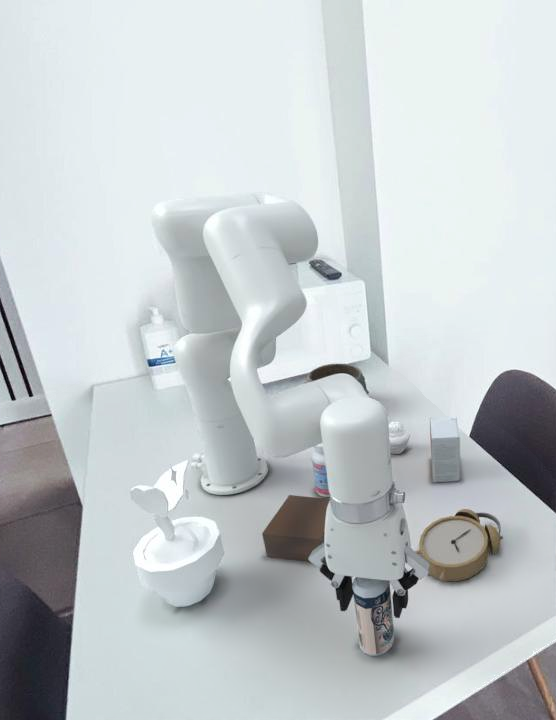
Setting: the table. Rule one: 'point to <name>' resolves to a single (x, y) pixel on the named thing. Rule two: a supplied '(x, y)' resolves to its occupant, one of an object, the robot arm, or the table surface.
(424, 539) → the alarm clock
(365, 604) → the beer can
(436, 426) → the small box
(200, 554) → the potted plant
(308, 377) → the bowl
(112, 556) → the table surface
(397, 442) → the muffin
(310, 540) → the block
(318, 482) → the pill bottle
